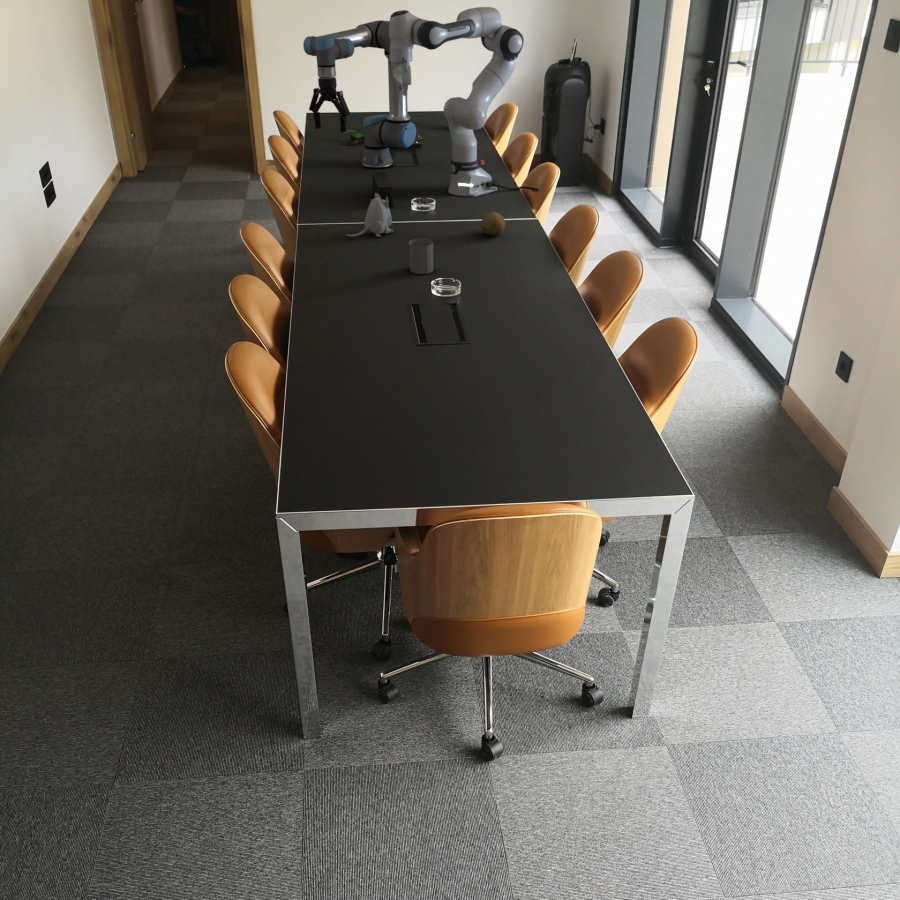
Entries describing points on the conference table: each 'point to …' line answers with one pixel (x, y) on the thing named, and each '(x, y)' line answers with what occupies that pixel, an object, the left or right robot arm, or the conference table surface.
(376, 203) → the toy
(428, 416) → the conference table surface
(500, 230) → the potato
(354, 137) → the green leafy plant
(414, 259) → the cup
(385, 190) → the bar
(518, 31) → the right robot arm
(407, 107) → the left robot arm
